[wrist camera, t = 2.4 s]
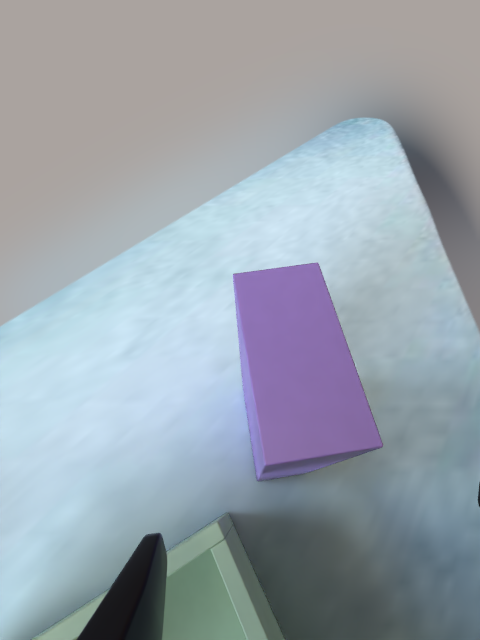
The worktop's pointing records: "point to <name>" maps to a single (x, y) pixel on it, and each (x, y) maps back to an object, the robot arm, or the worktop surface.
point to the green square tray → (200, 593)
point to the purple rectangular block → (298, 374)
